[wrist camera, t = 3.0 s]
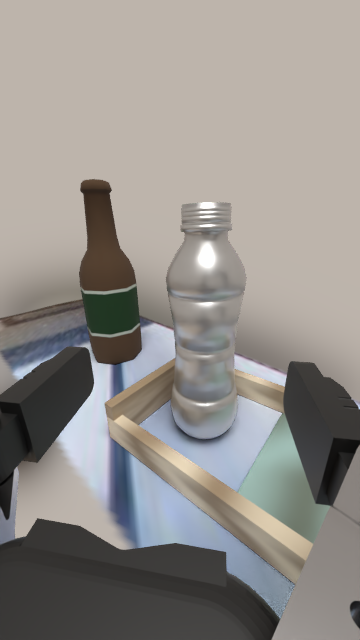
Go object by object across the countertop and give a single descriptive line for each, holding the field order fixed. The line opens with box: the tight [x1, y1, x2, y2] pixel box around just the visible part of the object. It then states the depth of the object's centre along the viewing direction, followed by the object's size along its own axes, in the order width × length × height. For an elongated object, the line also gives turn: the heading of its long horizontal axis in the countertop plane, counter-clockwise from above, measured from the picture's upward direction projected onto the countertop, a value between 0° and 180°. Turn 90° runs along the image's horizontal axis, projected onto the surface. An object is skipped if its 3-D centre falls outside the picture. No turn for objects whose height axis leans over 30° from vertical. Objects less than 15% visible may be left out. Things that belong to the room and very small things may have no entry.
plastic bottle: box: [166, 202, 246, 439], centre depth 21 cm, size 6×7×20 cm
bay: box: [105, 358, 330, 585], centre depth 21 cm, size 24×14×4 cm, turn 51°
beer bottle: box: [79, 179, 142, 365], centre depth 35 cm, size 8×8×24 cm
